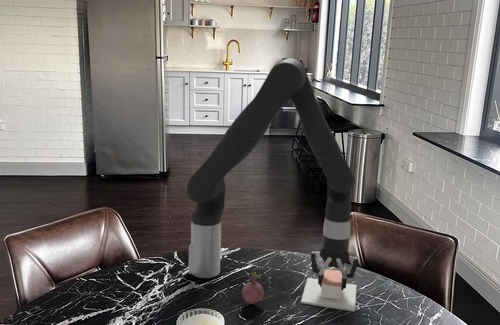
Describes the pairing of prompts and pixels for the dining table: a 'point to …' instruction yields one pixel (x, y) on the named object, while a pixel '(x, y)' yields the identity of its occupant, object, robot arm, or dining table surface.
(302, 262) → the dining table surface
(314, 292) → the mat
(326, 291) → the card box
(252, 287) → the vegetable
